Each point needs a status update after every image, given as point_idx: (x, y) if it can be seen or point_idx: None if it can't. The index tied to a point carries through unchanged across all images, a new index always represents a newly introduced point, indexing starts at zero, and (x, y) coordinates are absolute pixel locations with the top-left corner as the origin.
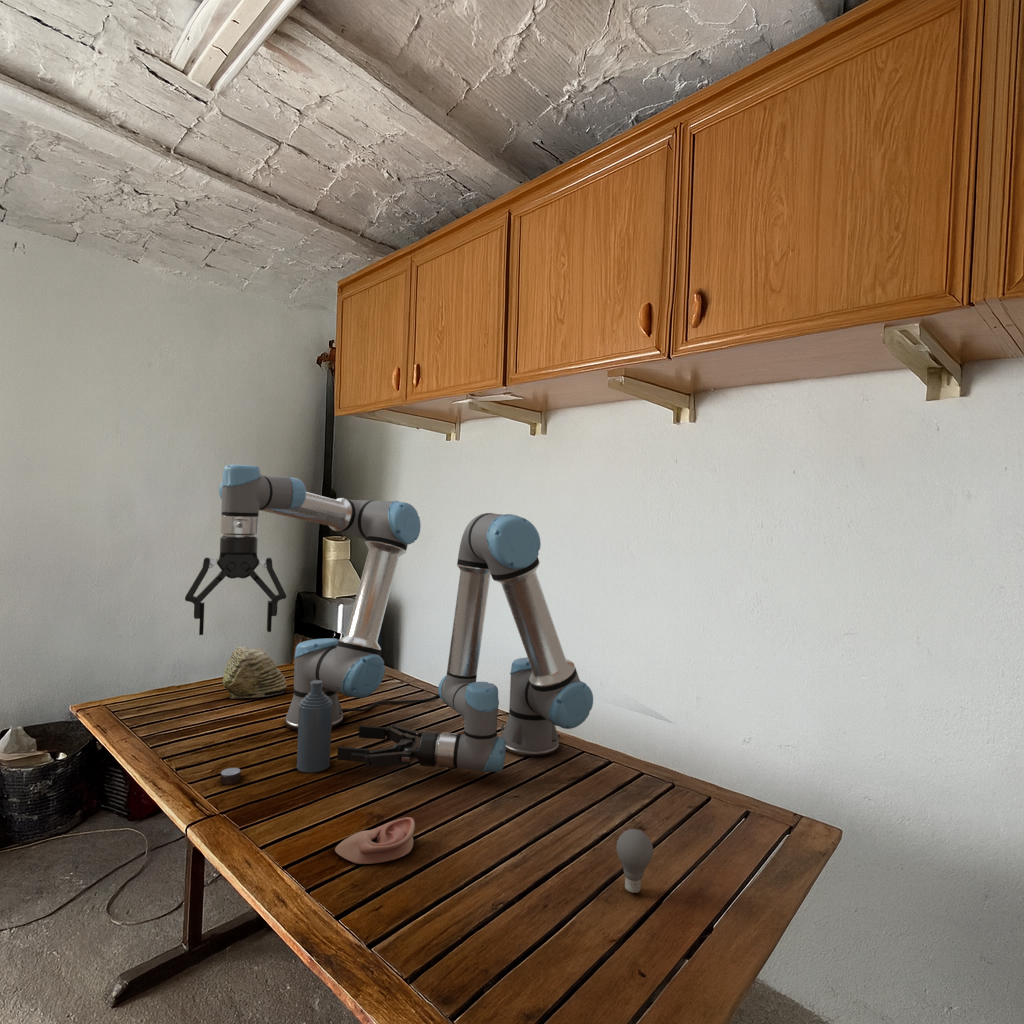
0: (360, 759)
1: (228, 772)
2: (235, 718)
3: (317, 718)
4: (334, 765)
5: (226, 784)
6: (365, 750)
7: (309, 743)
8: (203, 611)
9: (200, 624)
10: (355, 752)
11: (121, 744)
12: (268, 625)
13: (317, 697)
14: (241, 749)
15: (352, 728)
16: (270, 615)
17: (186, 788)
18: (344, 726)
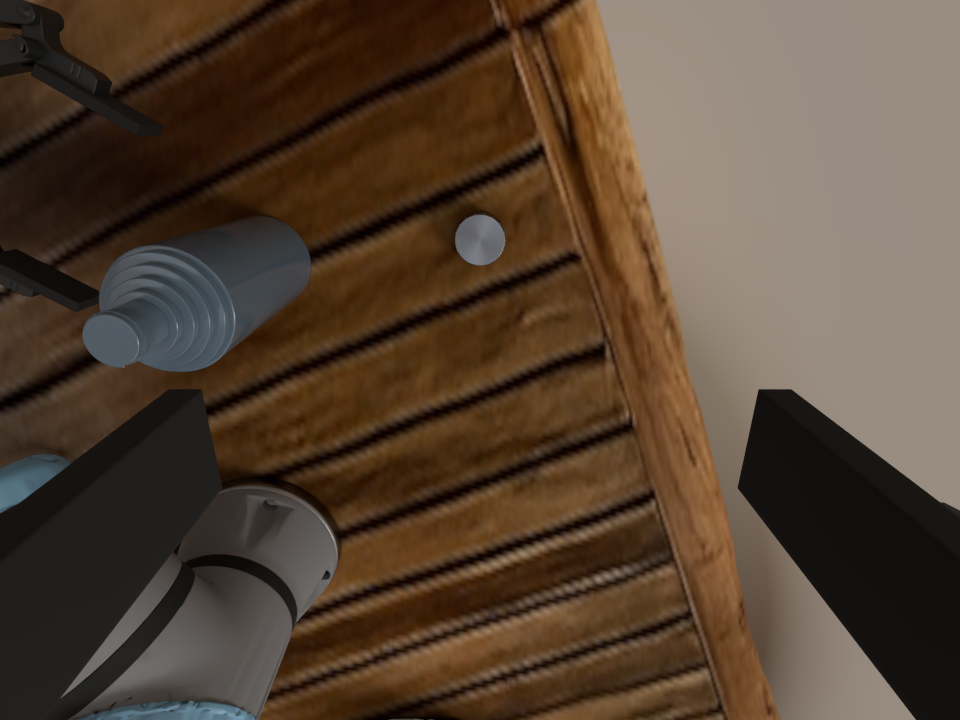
0: (72, 56)
1: (486, 234)
2: (462, 612)
3: (177, 238)
4: None
5: (490, 214)
6: (31, 47)
7: (244, 231)
8: (938, 536)
9: (845, 440)
10: (81, 87)
11: (714, 531)
12: (159, 418)
13: (140, 289)
14: (450, 425)
15: None
16: (63, 481)
17: (585, 226)
18: None
